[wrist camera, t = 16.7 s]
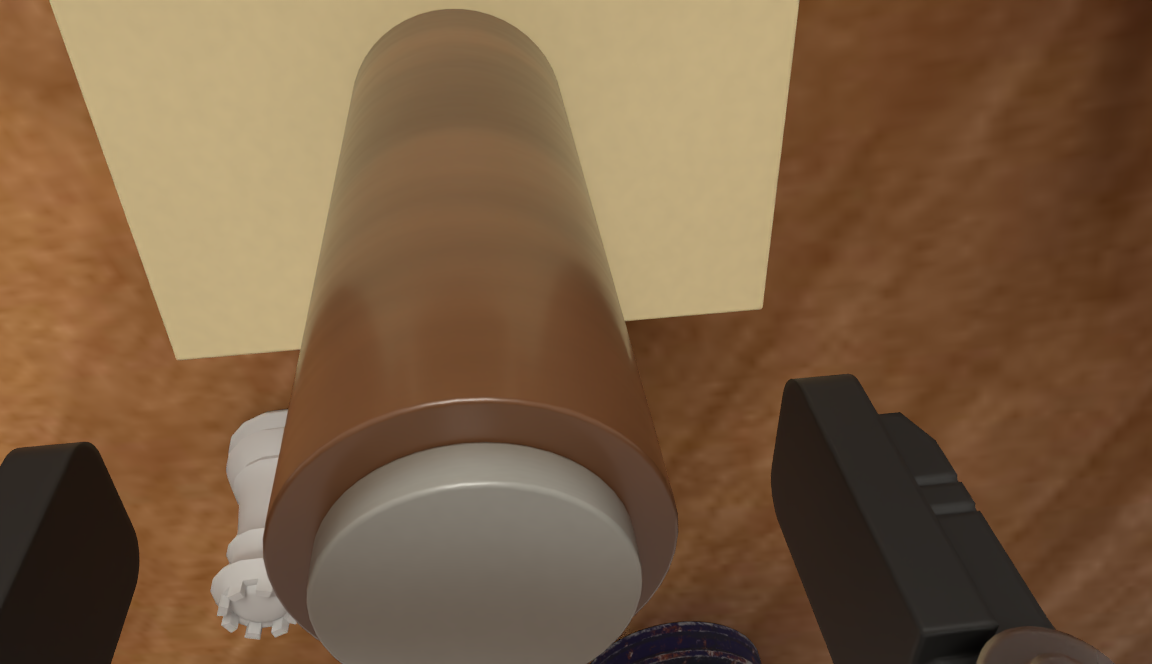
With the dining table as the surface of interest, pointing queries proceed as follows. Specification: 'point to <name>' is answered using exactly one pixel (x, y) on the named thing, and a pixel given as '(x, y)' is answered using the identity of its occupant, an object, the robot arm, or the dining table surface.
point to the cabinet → (318, 119)
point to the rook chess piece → (251, 530)
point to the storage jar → (682, 646)
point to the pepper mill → (465, 379)
